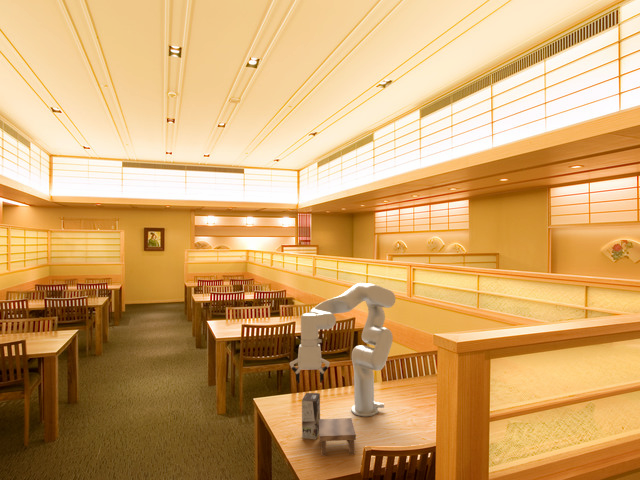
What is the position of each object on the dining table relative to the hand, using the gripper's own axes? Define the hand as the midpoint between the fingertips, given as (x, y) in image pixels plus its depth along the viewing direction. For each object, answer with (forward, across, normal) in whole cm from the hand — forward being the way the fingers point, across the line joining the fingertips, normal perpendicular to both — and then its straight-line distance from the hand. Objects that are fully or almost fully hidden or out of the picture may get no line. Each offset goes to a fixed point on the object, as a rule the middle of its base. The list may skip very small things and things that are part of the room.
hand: (309, 382), depth 169 cm
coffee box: (+23, -1, 0) cm, 23 cm away
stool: (+22, -11, +10) cm, 27 cm away
